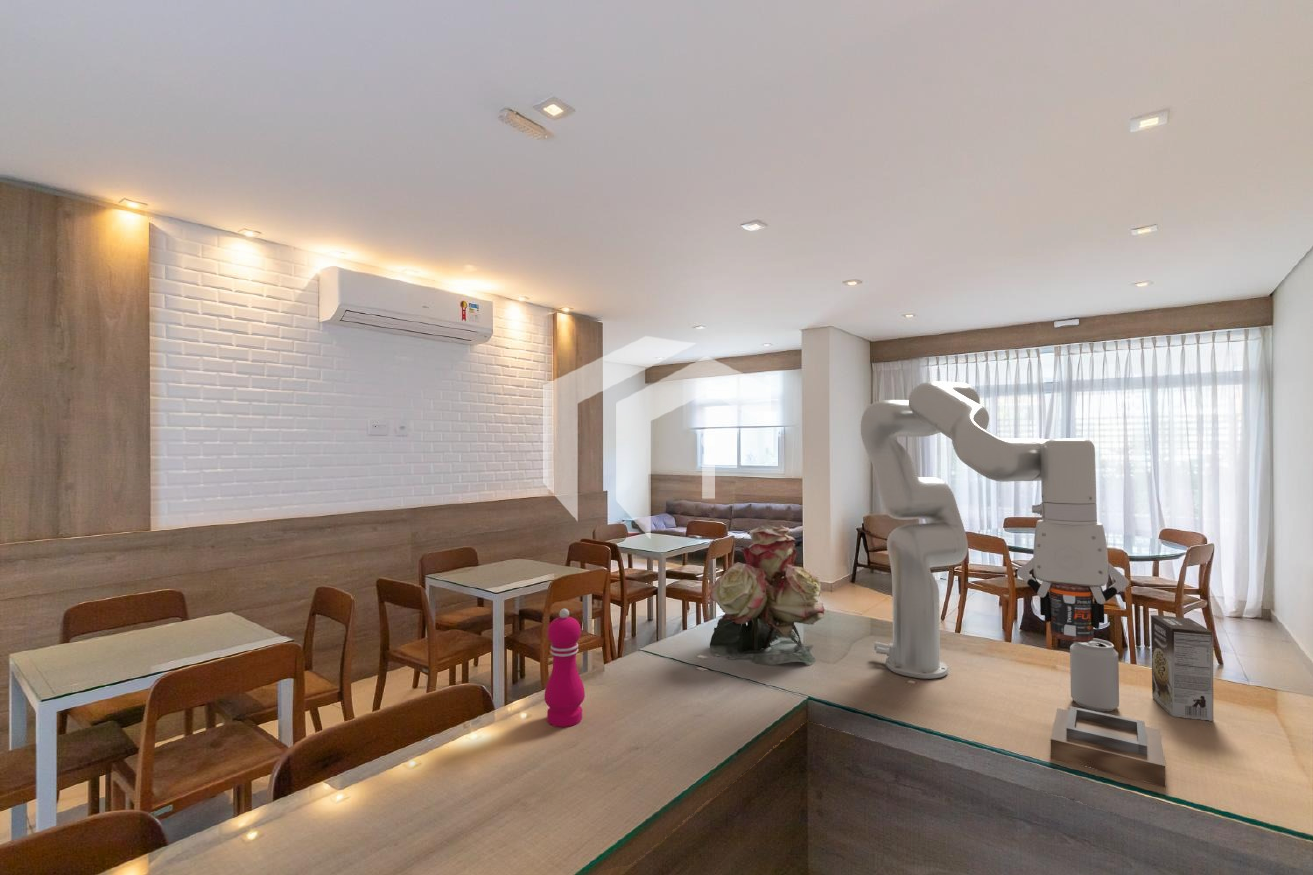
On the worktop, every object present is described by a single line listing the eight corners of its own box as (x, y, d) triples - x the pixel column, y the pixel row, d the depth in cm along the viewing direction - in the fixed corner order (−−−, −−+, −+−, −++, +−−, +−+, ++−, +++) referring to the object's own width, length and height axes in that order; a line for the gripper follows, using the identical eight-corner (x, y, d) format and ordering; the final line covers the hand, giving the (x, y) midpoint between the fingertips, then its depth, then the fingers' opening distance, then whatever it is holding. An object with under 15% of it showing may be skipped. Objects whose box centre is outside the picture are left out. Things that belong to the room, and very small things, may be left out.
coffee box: (1150, 697, 120) (1149, 614, 121) (1191, 701, 118) (1190, 617, 118) (1171, 717, 112) (1170, 627, 112) (1215, 722, 110) (1214, 630, 110)
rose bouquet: (701, 662, 141) (700, 530, 141) (734, 626, 168) (733, 516, 168) (816, 678, 132) (815, 536, 132) (832, 637, 159) (831, 520, 159)
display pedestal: (1050, 757, 98) (1050, 729, 98) (1057, 725, 109) (1057, 699, 109) (1165, 786, 89) (1165, 755, 89) (1160, 748, 101) (1159, 720, 101)
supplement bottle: (1080, 645, 98) (1078, 573, 98) (1042, 636, 103) (1040, 567, 103) (1102, 640, 100) (1100, 570, 101) (1064, 631, 106) (1062, 564, 106)
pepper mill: (591, 713, 115) (590, 605, 115) (573, 730, 108) (573, 615, 108) (556, 708, 117) (556, 602, 117) (537, 725, 110) (536, 612, 110)
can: (1127, 715, 113) (1126, 648, 113) (1081, 711, 114) (1080, 646, 114) (1106, 698, 120) (1105, 636, 120) (1063, 695, 122) (1063, 634, 122)
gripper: (1005, 512, 105) (1008, 620, 104) (1135, 518, 94) (1138, 638, 94) (1012, 509, 111) (1015, 611, 110) (1134, 514, 100) (1138, 626, 100)
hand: (1071, 622), depth 102 cm, fingers closed on supplement bottle, 5 cm apart
